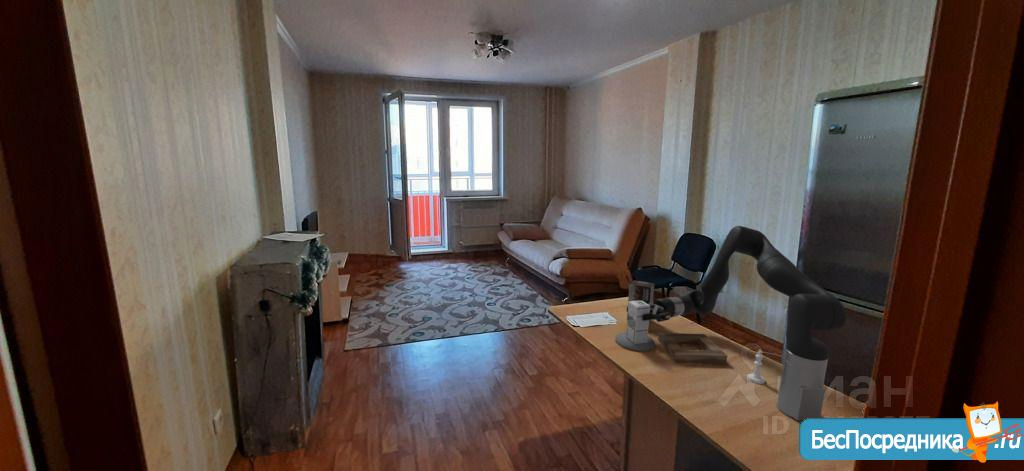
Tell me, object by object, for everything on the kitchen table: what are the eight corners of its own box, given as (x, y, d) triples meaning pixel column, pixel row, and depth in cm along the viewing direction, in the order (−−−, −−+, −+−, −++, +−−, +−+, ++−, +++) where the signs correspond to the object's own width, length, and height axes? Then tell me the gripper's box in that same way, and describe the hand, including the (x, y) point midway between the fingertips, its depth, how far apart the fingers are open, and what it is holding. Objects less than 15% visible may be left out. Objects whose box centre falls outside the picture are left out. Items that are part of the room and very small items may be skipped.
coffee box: (652, 319, 174) (655, 283, 171) (648, 324, 168) (651, 287, 165) (630, 315, 178) (633, 279, 175) (626, 319, 173) (629, 283, 170)
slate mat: (660, 351, 145) (660, 349, 145) (620, 350, 145) (620, 348, 145) (647, 334, 159) (648, 332, 158) (611, 333, 159) (611, 331, 159)
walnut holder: (726, 363, 137) (727, 355, 137) (675, 362, 137) (676, 354, 137) (703, 341, 154) (704, 334, 153) (658, 340, 154) (658, 332, 154)
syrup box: (647, 342, 149) (651, 305, 147) (633, 344, 148) (636, 306, 145) (639, 336, 155) (642, 299, 152) (625, 337, 153) (628, 300, 150)
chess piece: (743, 377, 129) (747, 347, 127) (753, 374, 131) (758, 345, 129) (757, 385, 125) (762, 354, 123) (768, 382, 127) (773, 352, 125)
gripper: (655, 292, 161) (622, 297, 155) (684, 304, 149) (649, 310, 142) (654, 310, 163) (621, 316, 156) (682, 324, 150) (647, 330, 143)
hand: (634, 313), depth 149 cm, fingers open, 8 cm apart
